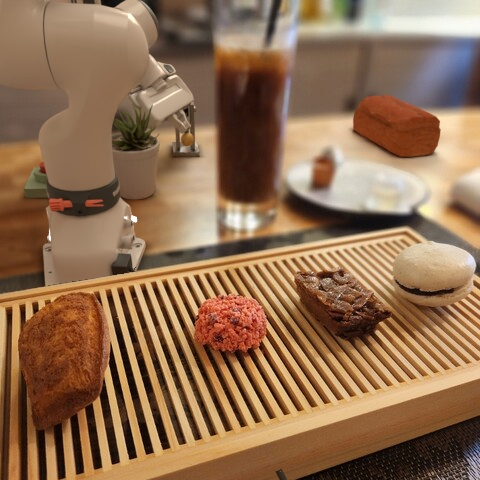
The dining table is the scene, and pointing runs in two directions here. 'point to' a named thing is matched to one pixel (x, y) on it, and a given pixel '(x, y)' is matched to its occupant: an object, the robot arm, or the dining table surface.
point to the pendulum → (178, 147)
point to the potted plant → (135, 156)
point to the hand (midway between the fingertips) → (187, 130)
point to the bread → (397, 126)
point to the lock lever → (187, 133)
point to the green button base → (36, 184)
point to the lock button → (42, 167)
